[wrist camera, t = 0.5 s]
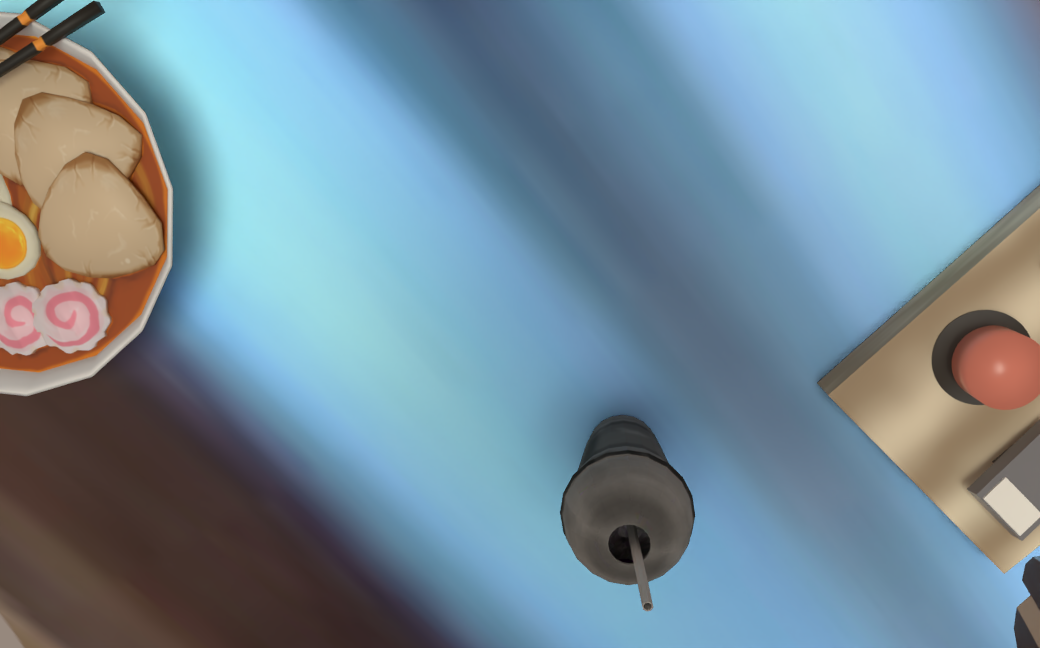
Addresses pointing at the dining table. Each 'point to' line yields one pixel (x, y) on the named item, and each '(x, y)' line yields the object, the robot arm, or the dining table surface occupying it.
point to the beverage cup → (627, 507)
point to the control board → (951, 378)
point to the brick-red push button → (998, 367)
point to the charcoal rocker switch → (1014, 486)
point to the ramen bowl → (73, 207)
